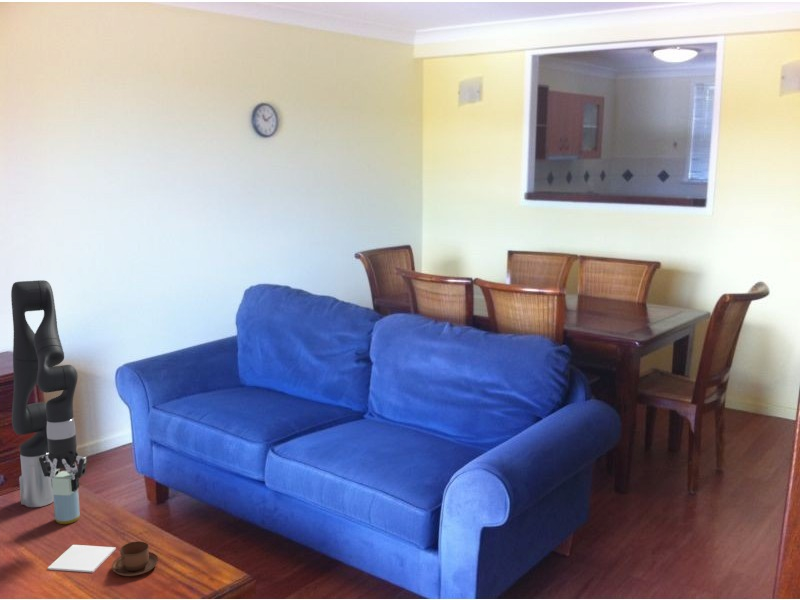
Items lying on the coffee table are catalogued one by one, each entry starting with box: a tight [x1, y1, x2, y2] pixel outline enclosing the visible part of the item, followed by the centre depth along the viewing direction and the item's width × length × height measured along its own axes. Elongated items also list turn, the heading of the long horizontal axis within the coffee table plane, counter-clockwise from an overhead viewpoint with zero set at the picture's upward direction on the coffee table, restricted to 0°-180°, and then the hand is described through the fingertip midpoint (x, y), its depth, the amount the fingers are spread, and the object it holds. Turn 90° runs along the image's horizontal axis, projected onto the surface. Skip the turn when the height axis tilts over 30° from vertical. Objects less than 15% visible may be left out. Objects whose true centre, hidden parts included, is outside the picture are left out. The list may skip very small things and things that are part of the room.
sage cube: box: [52, 471, 73, 495], centre depth 219 cm, size 5×5×5 cm
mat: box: [47, 544, 117, 574], centre depth 212 cm, size 13×13×1 cm
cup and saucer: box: [111, 541, 159, 577], centre depth 207 cm, size 12×12×6 cm
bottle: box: [53, 470, 81, 525], centre depth 234 cm, size 7×7×15 cm
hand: (65, 489), depth 220 cm, fingers closed on sage cube, 5 cm apart
